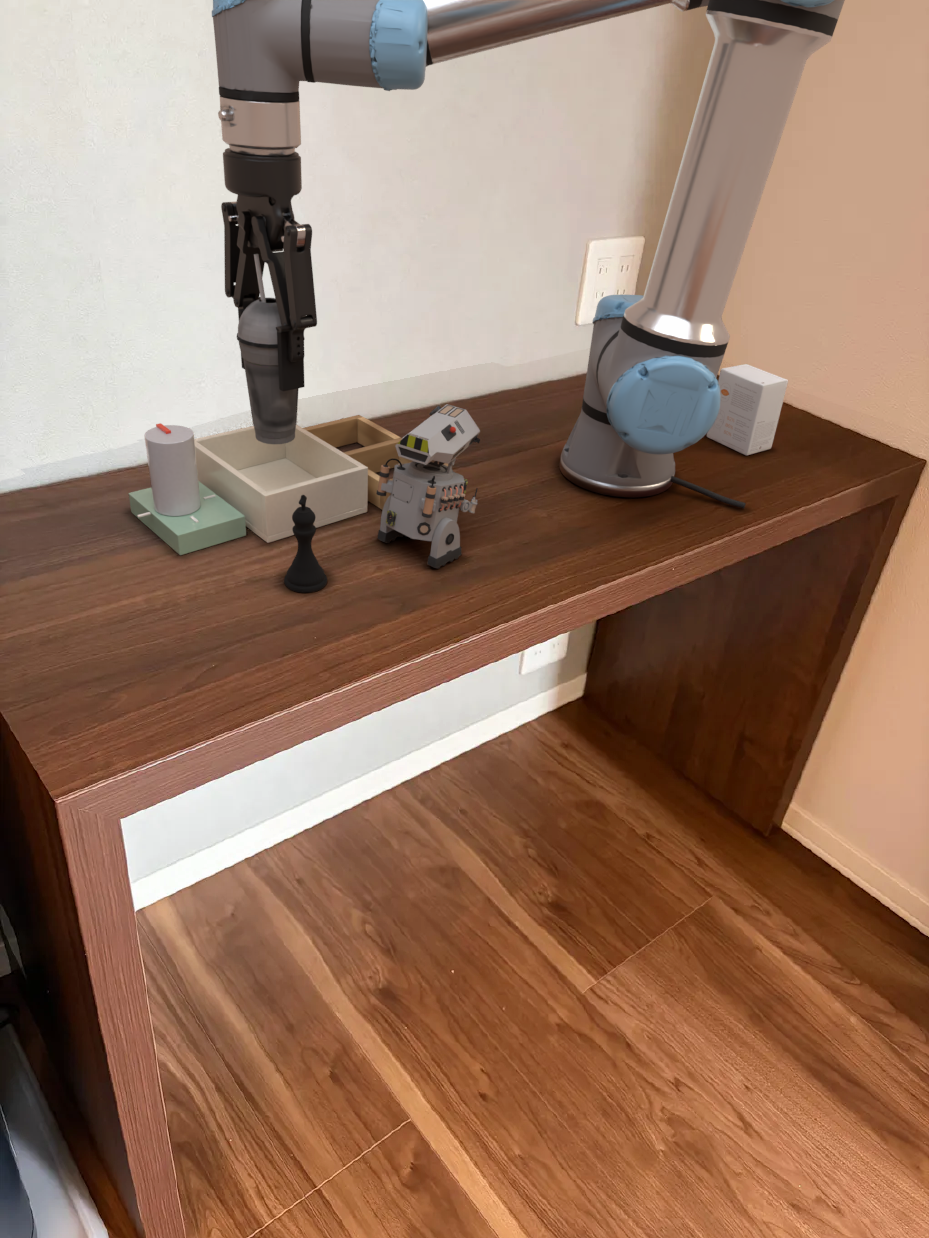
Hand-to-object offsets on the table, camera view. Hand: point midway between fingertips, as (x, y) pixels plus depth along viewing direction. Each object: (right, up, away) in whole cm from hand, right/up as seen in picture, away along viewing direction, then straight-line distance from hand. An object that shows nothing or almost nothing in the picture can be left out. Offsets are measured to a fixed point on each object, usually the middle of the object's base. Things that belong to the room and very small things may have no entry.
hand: (272, 377), depth 102 cm
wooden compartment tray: (+9, -8, +16) cm, 20 cm away
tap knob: (-10, -14, 0) cm, 18 cm away
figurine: (+18, -19, +2) cm, 26 cm away
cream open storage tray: (-1, -12, +8) cm, 15 cm away
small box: (+62, -1, +33) cm, 70 cm away
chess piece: (+5, -23, -7) cm, 25 cm away
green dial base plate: (-10, -16, +1) cm, 19 cm away
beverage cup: (-1, -6, +4) cm, 7 cm away
